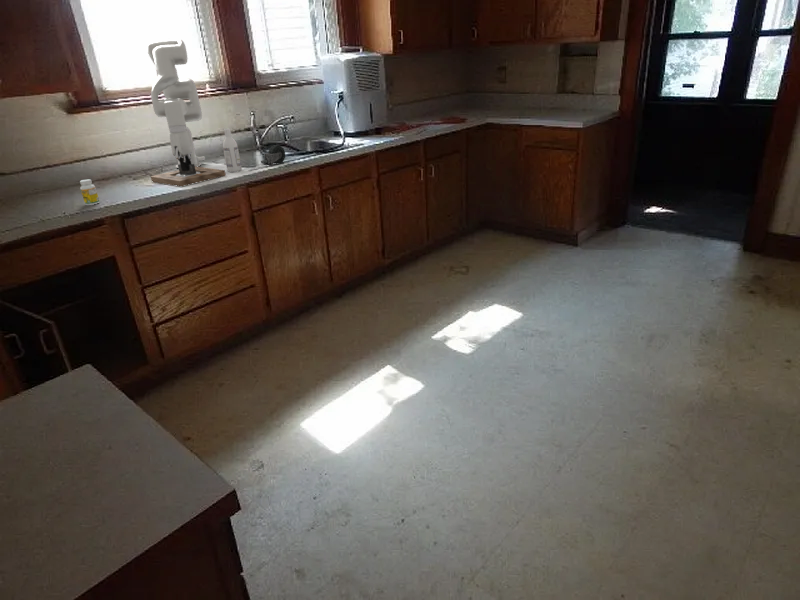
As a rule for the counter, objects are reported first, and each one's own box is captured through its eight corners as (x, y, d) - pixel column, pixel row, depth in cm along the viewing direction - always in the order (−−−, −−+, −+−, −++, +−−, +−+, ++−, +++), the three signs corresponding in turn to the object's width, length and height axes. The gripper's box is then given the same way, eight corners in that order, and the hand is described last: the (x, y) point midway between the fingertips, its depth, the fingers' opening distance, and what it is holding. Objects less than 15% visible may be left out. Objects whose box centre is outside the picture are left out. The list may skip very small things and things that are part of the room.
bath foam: (240, 168, 266) (233, 127, 257) (243, 171, 260) (235, 128, 252) (226, 170, 263) (218, 128, 255) (228, 173, 258) (220, 130, 249)
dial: (187, 175, 257) (184, 161, 254) (206, 175, 253) (203, 162, 251) (171, 180, 248) (168, 166, 245) (190, 181, 244) (187, 166, 242)
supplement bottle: (102, 203, 216) (95, 179, 212) (89, 206, 212) (81, 182, 208) (95, 201, 219) (88, 178, 215) (82, 204, 215) (75, 181, 211)
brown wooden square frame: (196, 171, 266) (195, 166, 265) (225, 175, 253) (224, 169, 251) (152, 181, 249) (150, 175, 248) (180, 186, 236) (179, 180, 234)
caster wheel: (280, 163, 278) (258, 166, 267) (279, 144, 275) (256, 146, 264) (288, 164, 275) (265, 167, 264) (286, 144, 272) (264, 146, 260)
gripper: (179, 127, 249) (188, 166, 257) (160, 132, 235) (170, 174, 242) (194, 126, 248) (202, 166, 256) (176, 131, 233) (185, 173, 241)
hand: (187, 169), depth 249 cm, fingers closed on dial, 2 cm apart
